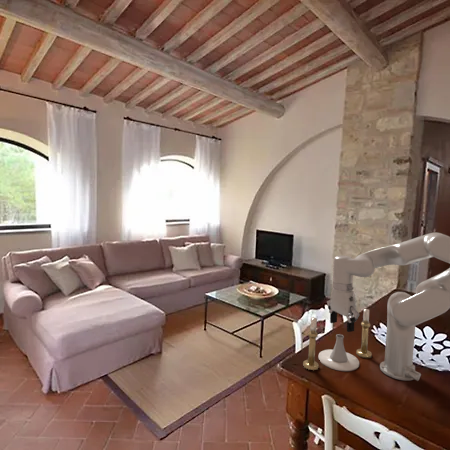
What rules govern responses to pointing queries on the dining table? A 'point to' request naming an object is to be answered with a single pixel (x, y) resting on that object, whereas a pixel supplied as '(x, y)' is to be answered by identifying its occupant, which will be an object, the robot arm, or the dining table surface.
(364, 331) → the far candlestick
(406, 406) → the dining table surface
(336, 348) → the flask
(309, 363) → the near candlestick
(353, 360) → the cream plate
